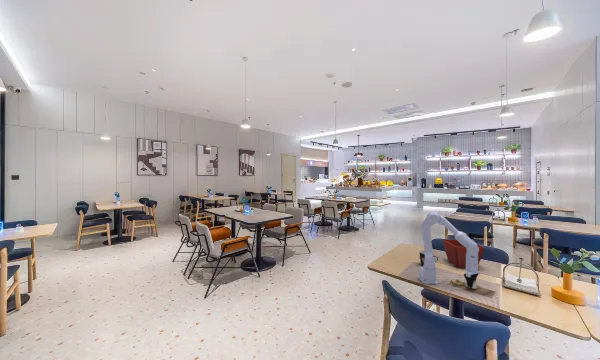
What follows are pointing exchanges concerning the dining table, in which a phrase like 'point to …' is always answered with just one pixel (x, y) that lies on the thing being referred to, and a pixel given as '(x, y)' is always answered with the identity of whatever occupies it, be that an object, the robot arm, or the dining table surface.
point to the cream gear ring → (473, 284)
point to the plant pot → (458, 253)
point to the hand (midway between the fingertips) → (471, 285)
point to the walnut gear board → (478, 290)
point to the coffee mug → (423, 257)
